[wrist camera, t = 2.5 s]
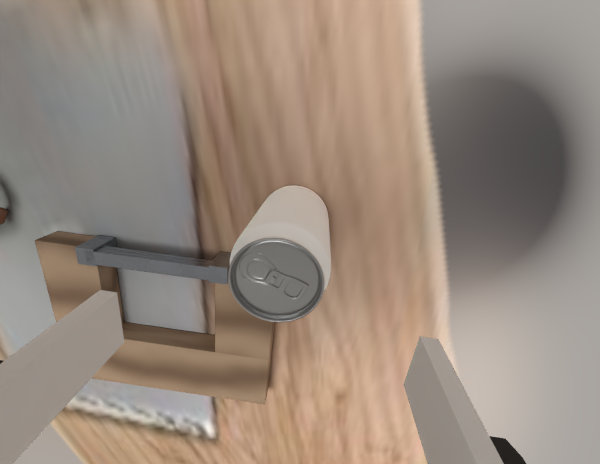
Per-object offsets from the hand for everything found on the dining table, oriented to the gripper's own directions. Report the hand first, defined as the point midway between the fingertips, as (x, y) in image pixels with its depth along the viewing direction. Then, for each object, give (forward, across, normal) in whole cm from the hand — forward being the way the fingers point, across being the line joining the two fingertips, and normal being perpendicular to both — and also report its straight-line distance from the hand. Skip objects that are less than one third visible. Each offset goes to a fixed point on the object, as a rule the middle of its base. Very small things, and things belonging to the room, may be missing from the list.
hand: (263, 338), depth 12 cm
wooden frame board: (+16, -13, -14) cm, 25 cm away
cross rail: (+16, -13, -5) cm, 22 cm away
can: (+16, 0, 0) cm, 16 cm away
